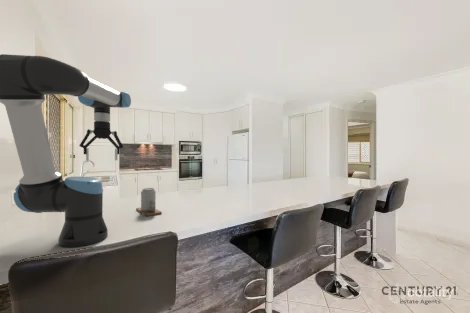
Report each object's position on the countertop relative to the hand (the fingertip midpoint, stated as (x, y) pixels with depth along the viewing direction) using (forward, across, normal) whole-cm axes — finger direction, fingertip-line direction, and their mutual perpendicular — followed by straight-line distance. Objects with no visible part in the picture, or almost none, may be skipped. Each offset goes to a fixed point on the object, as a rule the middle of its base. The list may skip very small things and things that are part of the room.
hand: (102, 160), depth 118 cm
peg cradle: (+29, -20, +14) cm, 38 cm away
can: (+28, -20, +14) cm, 37 cm away
